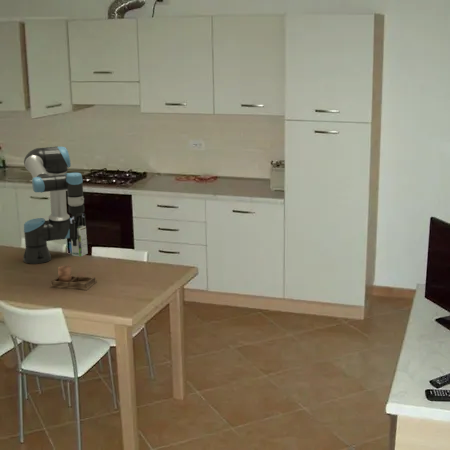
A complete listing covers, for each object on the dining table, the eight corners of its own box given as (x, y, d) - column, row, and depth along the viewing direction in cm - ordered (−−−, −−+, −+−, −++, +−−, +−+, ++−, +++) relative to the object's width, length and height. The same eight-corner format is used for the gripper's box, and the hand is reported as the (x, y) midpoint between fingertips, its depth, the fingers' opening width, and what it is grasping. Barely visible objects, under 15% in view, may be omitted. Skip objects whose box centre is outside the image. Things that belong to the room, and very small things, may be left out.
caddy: (50, 287, 348) (48, 270, 346) (61, 280, 359) (60, 263, 357) (86, 290, 343) (85, 273, 341) (97, 282, 354) (96, 265, 352)
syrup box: (71, 255, 345) (69, 227, 341) (79, 252, 350) (77, 224, 346) (80, 256, 342) (78, 228, 339) (88, 253, 347) (86, 225, 344)
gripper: (74, 209, 330) (77, 255, 335) (91, 200, 348) (94, 244, 354) (59, 208, 332) (63, 255, 337) (78, 200, 350) (81, 244, 355)
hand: (79, 249), depth 345 cm, fingers closed on syrup box, 7 cm apart
